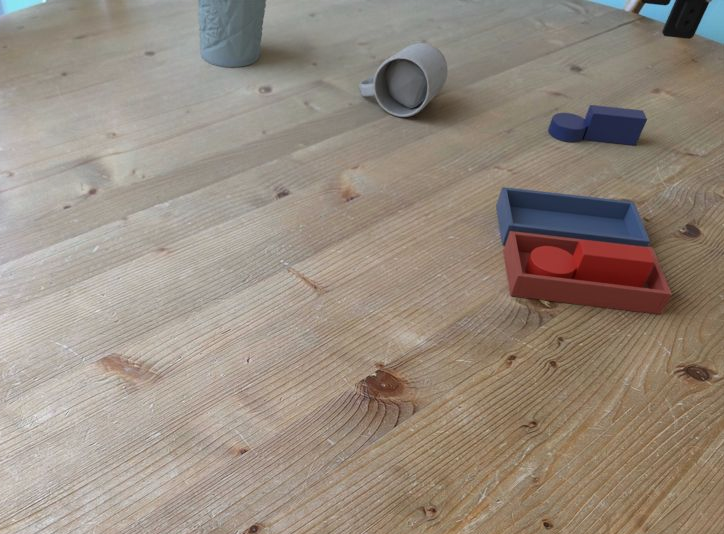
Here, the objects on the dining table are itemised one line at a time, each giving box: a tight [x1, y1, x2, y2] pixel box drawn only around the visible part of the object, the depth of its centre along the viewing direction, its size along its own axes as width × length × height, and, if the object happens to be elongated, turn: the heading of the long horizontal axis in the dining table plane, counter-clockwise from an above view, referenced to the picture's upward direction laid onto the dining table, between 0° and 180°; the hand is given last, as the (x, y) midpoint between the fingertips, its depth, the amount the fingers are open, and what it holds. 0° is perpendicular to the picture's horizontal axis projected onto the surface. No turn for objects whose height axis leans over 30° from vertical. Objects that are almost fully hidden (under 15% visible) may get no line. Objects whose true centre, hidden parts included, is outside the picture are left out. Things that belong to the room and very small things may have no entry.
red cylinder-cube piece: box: [526, 240, 655, 288], centre depth 72 cm, size 11×4×4 cm, turn 82°
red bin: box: [503, 231, 673, 315], centre depth 73 cm, size 14×7×2 cm, turn 82°
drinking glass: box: [197, 0, 267, 68], centre depth 104 cm, size 10×10×12 cm
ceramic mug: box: [358, 42, 449, 118], centre depth 97 cm, size 11×8×8 cm
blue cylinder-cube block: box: [547, 104, 648, 146], centre depth 94 cm, size 11×4×4 cm, turn 82°
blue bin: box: [495, 186, 651, 247], centre depth 79 cm, size 14×7×2 cm, turn 82°
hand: (664, 19), depth 84 cm, fingers open, 9 cm apart
